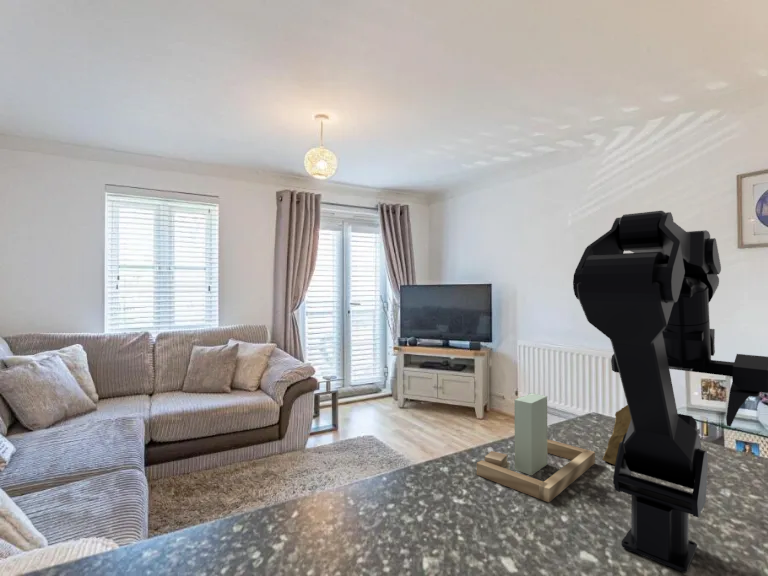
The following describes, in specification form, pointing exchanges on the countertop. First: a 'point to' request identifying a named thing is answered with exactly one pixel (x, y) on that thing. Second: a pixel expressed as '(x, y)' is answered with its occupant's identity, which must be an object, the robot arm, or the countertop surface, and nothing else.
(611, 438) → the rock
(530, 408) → the pale green rectangular pillar
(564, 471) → the wooden u-shaped frame
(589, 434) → the countertop surface
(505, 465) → the offcut stack
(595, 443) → the countertop surface
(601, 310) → the robot arm
